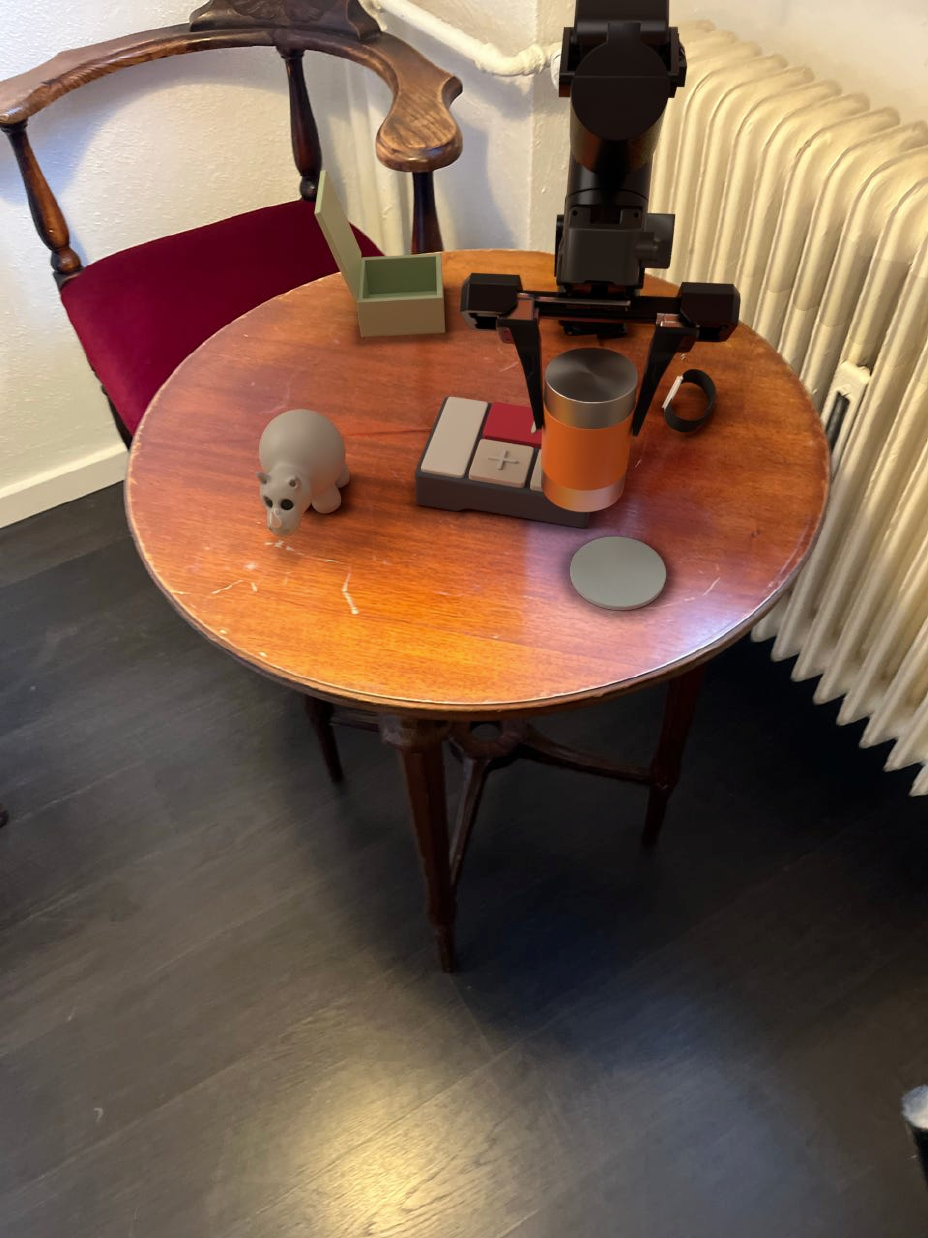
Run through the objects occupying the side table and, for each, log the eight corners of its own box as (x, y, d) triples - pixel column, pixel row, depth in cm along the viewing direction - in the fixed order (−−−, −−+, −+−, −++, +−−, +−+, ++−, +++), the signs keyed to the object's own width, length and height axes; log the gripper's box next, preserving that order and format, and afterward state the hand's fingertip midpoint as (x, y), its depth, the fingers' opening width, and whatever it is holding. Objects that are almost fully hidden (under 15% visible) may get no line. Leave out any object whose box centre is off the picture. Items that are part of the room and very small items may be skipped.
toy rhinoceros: (240, 559, 74) (214, 482, 68) (287, 464, 82) (268, 387, 75) (323, 569, 73) (304, 493, 67) (362, 473, 81) (349, 395, 74)
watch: (673, 384, 87) (679, 351, 84) (721, 394, 86) (728, 362, 83) (651, 431, 83) (656, 398, 80) (701, 442, 81) (708, 410, 79)
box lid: (326, 168, 88) (320, 170, 89) (320, 211, 83) (314, 213, 83) (361, 253, 95) (356, 255, 96) (358, 297, 90) (352, 299, 90)
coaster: (656, 538, 74) (657, 533, 74) (673, 608, 69) (674, 603, 69) (565, 542, 74) (565, 538, 74) (575, 613, 69) (576, 609, 69)
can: (538, 456, 71) (541, 347, 63) (619, 454, 71) (633, 344, 63) (542, 513, 67) (546, 404, 59) (629, 511, 67) (645, 401, 59)
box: (443, 292, 99) (441, 252, 96) (445, 337, 94) (442, 297, 90) (364, 296, 99) (359, 257, 96) (361, 341, 94) (356, 302, 90)
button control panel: (592, 497, 72) (413, 467, 74) (586, 534, 75) (414, 504, 77) (609, 413, 79) (445, 387, 81) (603, 450, 82) (445, 425, 84)
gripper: (457, 151, 55) (439, 409, 57) (769, 159, 53) (740, 428, 54) (478, 215, 66) (462, 429, 68) (737, 224, 64) (714, 445, 65)
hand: (586, 432), depth 63 cm, fingers closed on can, 6 cm apart
